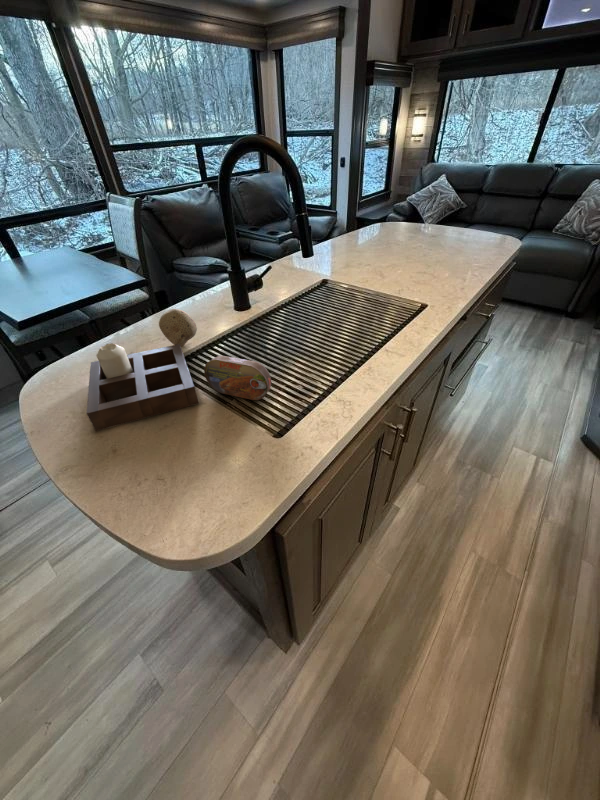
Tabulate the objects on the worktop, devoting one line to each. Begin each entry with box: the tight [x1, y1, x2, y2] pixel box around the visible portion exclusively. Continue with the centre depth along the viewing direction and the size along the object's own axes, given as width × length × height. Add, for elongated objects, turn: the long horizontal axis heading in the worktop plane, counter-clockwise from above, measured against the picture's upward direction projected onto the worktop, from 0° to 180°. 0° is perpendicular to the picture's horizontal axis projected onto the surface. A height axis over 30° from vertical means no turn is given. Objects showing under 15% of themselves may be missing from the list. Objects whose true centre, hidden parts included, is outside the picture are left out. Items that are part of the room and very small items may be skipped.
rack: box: [86, 344, 200, 432], centre depth 73 cm, size 20×20×4 cm
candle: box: [96, 342, 134, 379], centre depth 73 cm, size 6×6×10 cm
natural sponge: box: [158, 308, 198, 347], centre depth 87 cm, size 9×9×10 cm
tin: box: [203, 355, 272, 401], centre depth 70 cm, size 15×3×8 cm, turn 70°
